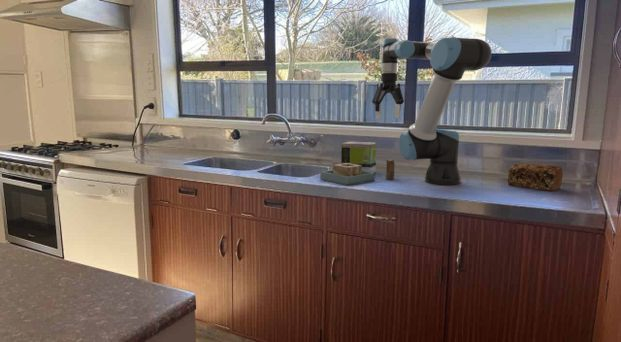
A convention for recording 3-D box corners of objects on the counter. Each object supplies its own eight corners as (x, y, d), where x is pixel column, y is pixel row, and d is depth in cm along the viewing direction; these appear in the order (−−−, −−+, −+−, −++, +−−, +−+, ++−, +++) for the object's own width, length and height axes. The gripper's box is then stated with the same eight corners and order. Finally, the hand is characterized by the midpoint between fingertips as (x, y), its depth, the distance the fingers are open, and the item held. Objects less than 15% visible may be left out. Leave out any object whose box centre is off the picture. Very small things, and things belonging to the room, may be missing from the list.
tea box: (376, 172, 224) (377, 142, 221) (370, 175, 215) (370, 144, 212) (347, 169, 230) (348, 140, 228) (340, 172, 221) (341, 142, 219)
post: (393, 178, 206) (394, 160, 204) (389, 179, 204) (390, 160, 202) (389, 178, 208) (390, 159, 206) (385, 178, 206) (386, 159, 204)
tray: (374, 180, 201) (374, 173, 201) (347, 185, 191) (347, 177, 190) (346, 175, 214) (346, 167, 214) (320, 179, 204) (320, 171, 203)
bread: (562, 188, 187) (564, 165, 185) (552, 192, 180) (554, 167, 178) (516, 182, 200) (518, 160, 199) (506, 185, 193) (507, 162, 192)
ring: (347, 175, 209) (347, 162, 208) (365, 179, 200) (365, 166, 199) (333, 178, 203) (333, 164, 202) (351, 181, 194) (351, 168, 193)
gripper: (400, 73, 223) (398, 116, 227) (365, 72, 207) (364, 118, 211) (412, 73, 217) (410, 117, 221) (377, 71, 202) (376, 119, 205)
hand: (387, 118), depth 216 cm, fingers open, 13 cm apart
